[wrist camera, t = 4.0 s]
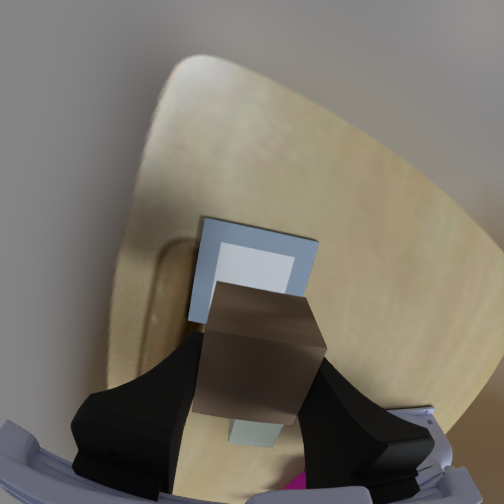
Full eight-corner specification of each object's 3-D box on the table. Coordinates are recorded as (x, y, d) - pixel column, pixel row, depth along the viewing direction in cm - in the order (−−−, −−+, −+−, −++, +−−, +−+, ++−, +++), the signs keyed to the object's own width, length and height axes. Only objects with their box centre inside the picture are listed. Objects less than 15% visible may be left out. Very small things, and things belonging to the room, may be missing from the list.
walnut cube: (305, 297, 15) (327, 348, 10) (282, 366, 16) (292, 425, 11) (216, 280, 14) (205, 328, 10) (203, 353, 15) (191, 411, 11)
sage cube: (280, 389, 25) (285, 421, 21) (269, 416, 26) (272, 447, 22) (237, 384, 24) (236, 416, 20) (229, 412, 25) (228, 442, 22)
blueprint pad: (318, 241, 20) (319, 242, 20) (288, 336, 23) (289, 339, 22) (205, 217, 20) (204, 218, 20) (188, 318, 22) (188, 320, 22)
